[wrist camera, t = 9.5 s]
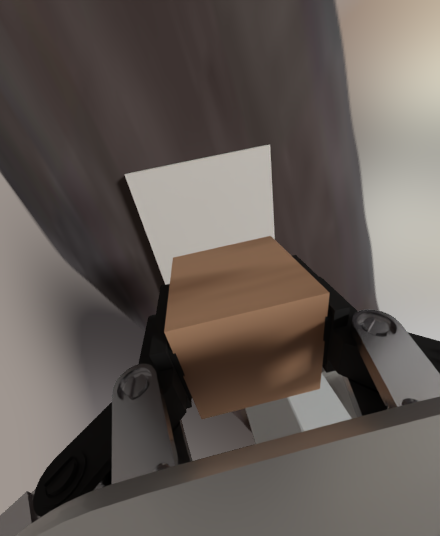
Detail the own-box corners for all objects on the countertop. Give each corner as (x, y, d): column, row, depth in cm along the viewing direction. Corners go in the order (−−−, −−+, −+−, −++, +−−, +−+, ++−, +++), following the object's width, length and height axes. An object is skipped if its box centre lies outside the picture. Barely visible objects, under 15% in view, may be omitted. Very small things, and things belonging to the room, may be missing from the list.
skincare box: (226, 340, 29) (257, 489, 16) (250, 309, 27) (308, 452, 14) (272, 355, 32) (330, 491, 19) (297, 328, 30) (381, 460, 17)
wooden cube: (275, 310, 13) (319, 389, 9) (196, 329, 13) (201, 419, 9) (270, 235, 11) (329, 292, 6) (172, 257, 10) (164, 332, 6)
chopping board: (272, 264, 24) (276, 269, 23) (169, 287, 24) (168, 293, 23) (265, 145, 18) (270, 144, 17) (128, 173, 18) (124, 174, 17)
